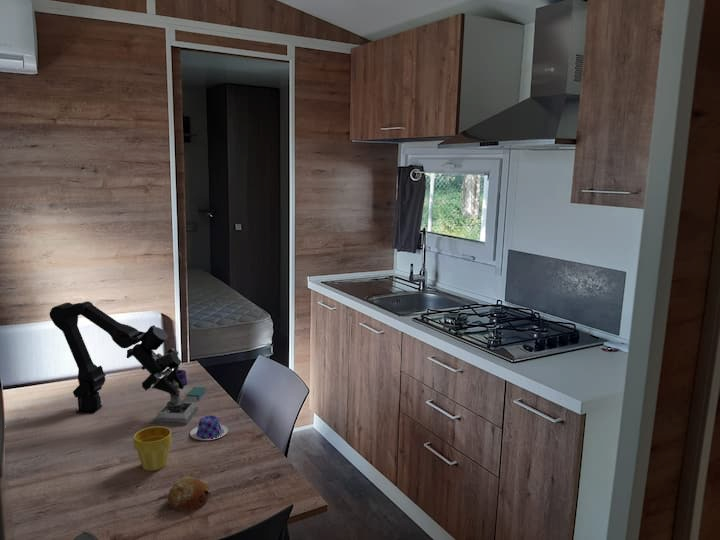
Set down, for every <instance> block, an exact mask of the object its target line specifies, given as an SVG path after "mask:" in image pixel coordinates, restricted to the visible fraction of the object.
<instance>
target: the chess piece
mask: <svg viewBox="0 0 720 540" xmlns="http://www.w3.org/2000/svg"><path fill="white" fill-rule="evenodd" d="M170 384H171V385H172V387H173V388H174V389H175V390H176V392H177V394H176V395H173V394H170V393H168V394H169V395H170V400H169V401H167V402H168V403H167V406H168V408H169V410H171V411H170V412H179V413H184V410H182V408H183V405H184V401H183V400H184V399H181V395H180V394H181V390H180V388H179V384H178V383H177V382H175V380H173V382H172V383H170Z"/></svg>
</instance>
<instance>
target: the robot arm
mask: <svg viewBox="0 0 720 540" xmlns="http://www.w3.org/2000/svg"><path fill="white" fill-rule="evenodd" d="M79 316H83V317H84V318H85V319H86V320H87V321H90V322H91V323H93V324H94V325H96V326H97V327H99V328H100V329H101V330H103V331H105V332H106V333H107V334H108V335H109V336H110V337H111V339H112V341H113V342H114V343H115V344H116V345H117V346H118V347H120V348H121V349H127V350H126V359H129V358H131V357H134V359H136V360H137V362H139V363H140V365H141V366H142V367H141V370H142V371H145V370H146V371H147V372H148V373H149V375H148V376H147V377H146V379H144V381H142V382H141V387H142V389H143V390H144V391H147V390H149V389H152V390H154V389H156V390H159V391H161V392H166V393H167V394H169V393H170V394H173V395H176V394H177V392H176V390H175V389H174V388H173V387H172V385H171V383H172V382H173V380H175V382H177V383H178V384H179V390H184V388H185V386H183V384H182V382H181V380H180V378H179V375H178V370H179V368H180V365H181V364H182V363H183V362H182V360H181V359H180V357H179V350H177V349H175V347H171V348H169V349H167V351H166V352H167V353H165V354H163V355H162V354H161V353H159V352H158V353H156V352H155V351H157V350H158V349H159V348H160V347H161V346H162V345H163V344H164V343H165V342H166V341H167V340H168V338H169V336H168V333H167V332H166V331H165V330H164V329H163V328H160V327H156V326H155V325H154V324H153V325H150V327H148V329H147V331H146V332H145V331H140V330H138V328H135V327H133V326H131V325H129V324H126V323H125V324H124V323H121V322H119V321H117V320H116V319H114V318H112V317H111V316H110V315H108V314H107V313H105V312H104V311H102V310H101V309H99V308H98V307H97V306H95V305H93V302H91V301H89V300H88V301H87V300H86V301H83V302H77V303H71V302H64V303H61V304H57V305H55V306H53V307H52V308H51V309H50V311H49V318H50V320H51V321H52V323H53V324H54V326H55V327H56V328H57V329H59V330H60V331H62V334H63V336H64V338H65V340H66V343H67V345H68V347H69V350H70V353H71V354H72V357H73V360H74V361H75V363H76V364H75V365H76V367H77V369H78V372H77V381H78V386H77V387H76V388H75V389H74V390H73V391H72V393H73V396H74V398H77V406H78V409H77V410H76V411H75V413H76V414H95V413H96V412H97V411H99V410H100V409H101V408H102V407H103V404H101V403H102V401H101V396H100V390H102V388H103V386H104V385H105V383H106V373H105V372H104V370H103V369H104V368H103V366H102V365H99V366H97V365H96V364H95V363H94V362H93V359H92V357H91V355H90V353H89V350H88V348H87V345H86V343H85V340H84V338H83V336H82V333H81V331H80V329H79V326H78V324H79ZM132 346H133V347H132ZM130 347H132V348H130ZM170 394H169V395H170Z"/></svg>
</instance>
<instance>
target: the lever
mask: <svg viewBox="0 0 720 540" xmlns="http://www.w3.org/2000/svg"><path fill="white" fill-rule="evenodd" d="M178 375H179V378H180V380H181V382H182V384H183V386H184V387H185V385H186V386H187V385H188V379H187V371H186V370H185V369H178Z"/></svg>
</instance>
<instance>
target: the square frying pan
mask: <svg viewBox="0 0 720 540" xmlns="http://www.w3.org/2000/svg"><path fill="white" fill-rule="evenodd" d="M206 392H207V389H206V387H205V386H202V387H201V386H193V387H192V388H191V390H189V392H187V394H186V397H184V399H182V400H183V401H184V405H183V408H182V410H184V413H179V412H170V411H171V410H169V408H168V406H167V403H168V402H169V401H167V403H165V404H164V406H162V407H161V408H160V410H158V411H157V412H156V413H157V416H156V417H155V418H154V424H164V425H165V424H166V425H188V424H189V422H190V421H191V420H192V419H193V418H194V417H195V416H196V414H197V413H198V411H199V408H198V406H196V403H197V402H198V401H199V400H200V399H201V398H202V397H203V396H204V394H205V393H206Z"/></svg>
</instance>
